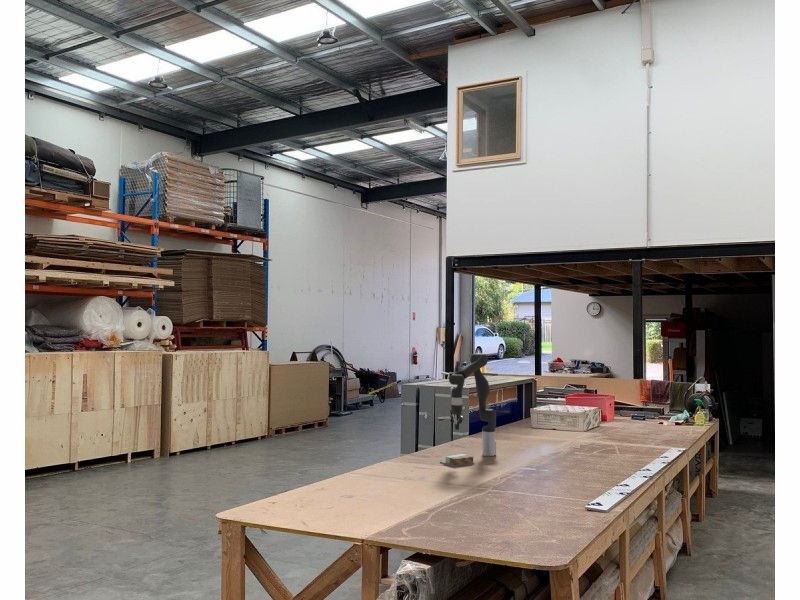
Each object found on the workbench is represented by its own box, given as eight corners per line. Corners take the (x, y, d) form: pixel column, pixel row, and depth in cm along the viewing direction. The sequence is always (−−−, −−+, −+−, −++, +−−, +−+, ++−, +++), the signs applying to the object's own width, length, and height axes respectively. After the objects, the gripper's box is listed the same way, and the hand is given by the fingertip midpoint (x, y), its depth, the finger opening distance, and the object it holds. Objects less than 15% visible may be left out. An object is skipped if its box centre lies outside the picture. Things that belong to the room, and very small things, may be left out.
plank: (463, 459, 452) (463, 453, 452) (468, 460, 448) (468, 455, 448) (445, 462, 442) (445, 456, 442) (450, 463, 438) (450, 457, 438)
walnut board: (468, 461, 446) (468, 455, 446) (473, 462, 442) (473, 456, 442) (449, 463, 438) (449, 457, 438) (454, 465, 433) (454, 459, 434)
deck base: (461, 460, 455) (461, 458, 455) (474, 464, 442) (474, 462, 442) (439, 462, 446) (439, 461, 446) (452, 466, 433) (452, 465, 433)
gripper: (467, 404, 442) (467, 430, 441) (455, 402, 453) (455, 428, 453) (458, 405, 438) (458, 431, 437) (446, 403, 449) (446, 428, 449)
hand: (457, 429), depth 445 cm, fingers closed
